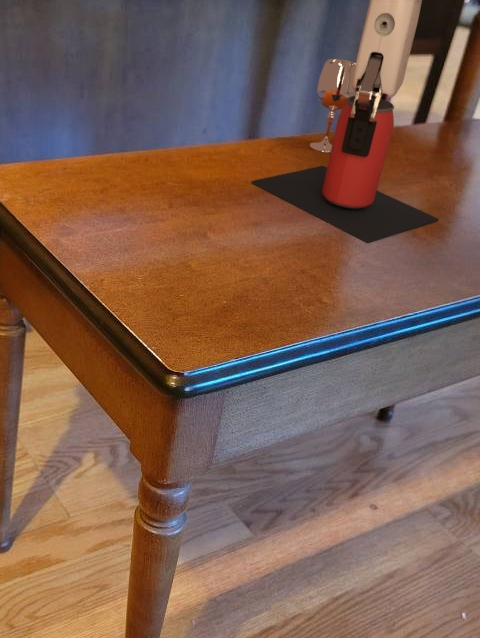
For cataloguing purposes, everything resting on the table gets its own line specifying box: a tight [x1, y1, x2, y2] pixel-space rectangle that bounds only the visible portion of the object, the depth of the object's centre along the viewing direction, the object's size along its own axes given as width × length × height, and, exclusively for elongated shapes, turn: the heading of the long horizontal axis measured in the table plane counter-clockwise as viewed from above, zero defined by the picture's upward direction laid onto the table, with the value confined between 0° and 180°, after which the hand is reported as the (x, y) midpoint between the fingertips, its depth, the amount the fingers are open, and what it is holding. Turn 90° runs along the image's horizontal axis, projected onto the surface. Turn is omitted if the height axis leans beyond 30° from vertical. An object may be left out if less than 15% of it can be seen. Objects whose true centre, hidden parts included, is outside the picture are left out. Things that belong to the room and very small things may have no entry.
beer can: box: [322, 96, 395, 209], centre depth 90 cm, size 7×7×12 cm
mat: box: [250, 165, 440, 244], centre depth 96 cm, size 20×14×1 cm
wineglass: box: [309, 58, 357, 154], centre depth 109 cm, size 6×6×12 cm
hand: (360, 144), depth 90 cm, fingers closed on beer can, 6 cm apart
